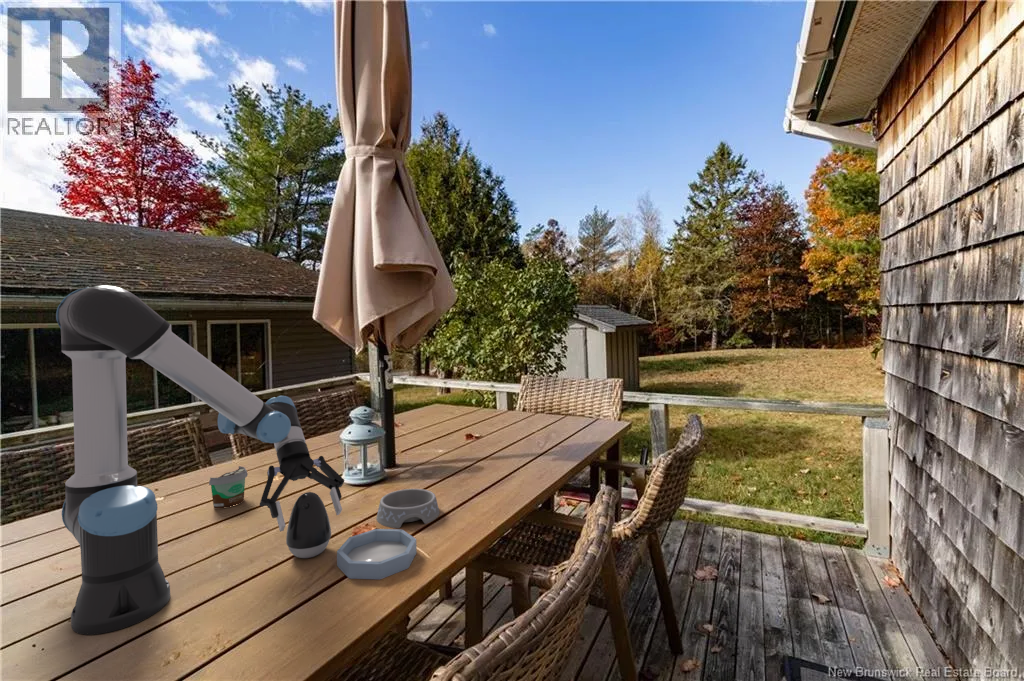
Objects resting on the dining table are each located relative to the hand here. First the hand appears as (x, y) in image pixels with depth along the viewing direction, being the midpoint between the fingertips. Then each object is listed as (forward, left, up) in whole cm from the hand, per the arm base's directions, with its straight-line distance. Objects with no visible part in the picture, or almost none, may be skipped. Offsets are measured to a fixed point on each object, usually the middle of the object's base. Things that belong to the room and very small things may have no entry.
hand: (312, 520), depth 115 cm
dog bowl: (+24, -17, -9) cm, 31 cm away
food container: (+29, +40, -8) cm, 50 cm away
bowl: (-2, -17, -8) cm, 19 cm away
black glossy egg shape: (0, +1, -8) cm, 8 cm away
